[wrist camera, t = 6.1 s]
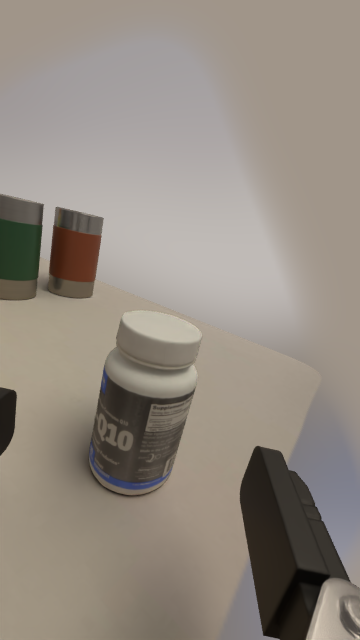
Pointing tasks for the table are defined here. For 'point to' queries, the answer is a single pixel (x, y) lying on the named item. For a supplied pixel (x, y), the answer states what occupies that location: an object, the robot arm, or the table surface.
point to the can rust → (74, 253)
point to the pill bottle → (144, 401)
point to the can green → (19, 247)
